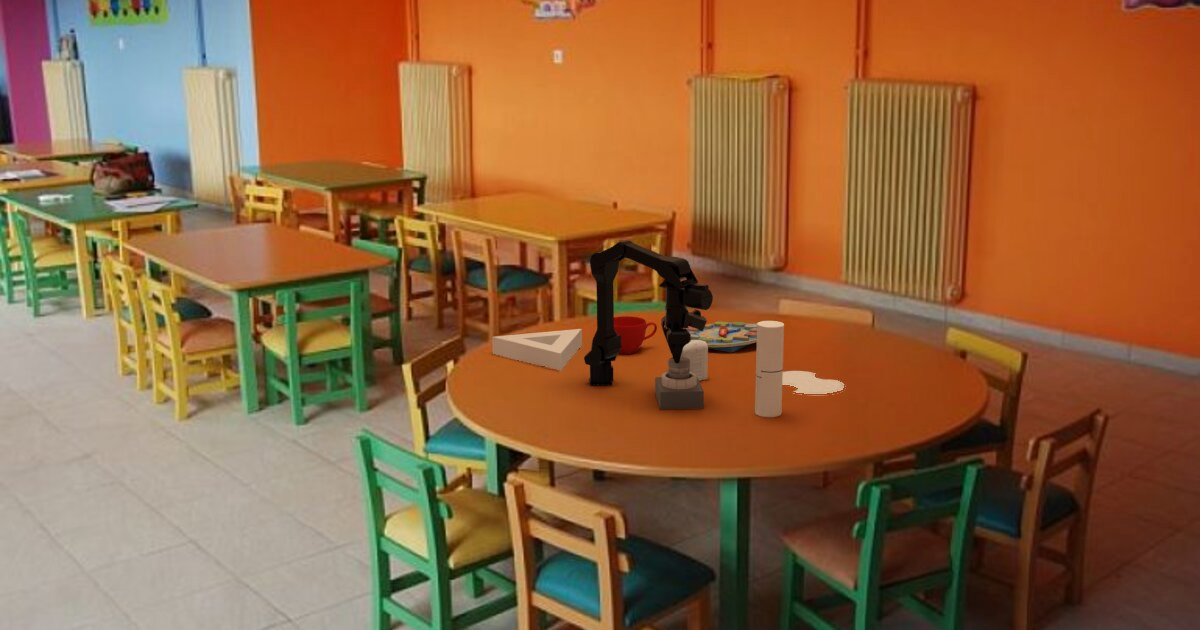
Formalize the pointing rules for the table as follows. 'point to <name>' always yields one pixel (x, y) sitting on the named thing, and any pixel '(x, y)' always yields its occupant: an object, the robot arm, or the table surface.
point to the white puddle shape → (810, 383)
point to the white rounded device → (697, 357)
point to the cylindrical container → (769, 368)
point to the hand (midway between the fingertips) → (675, 358)
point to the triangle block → (540, 347)
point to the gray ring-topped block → (679, 392)
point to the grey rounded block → (679, 369)
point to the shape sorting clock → (726, 335)
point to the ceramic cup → (631, 332)
